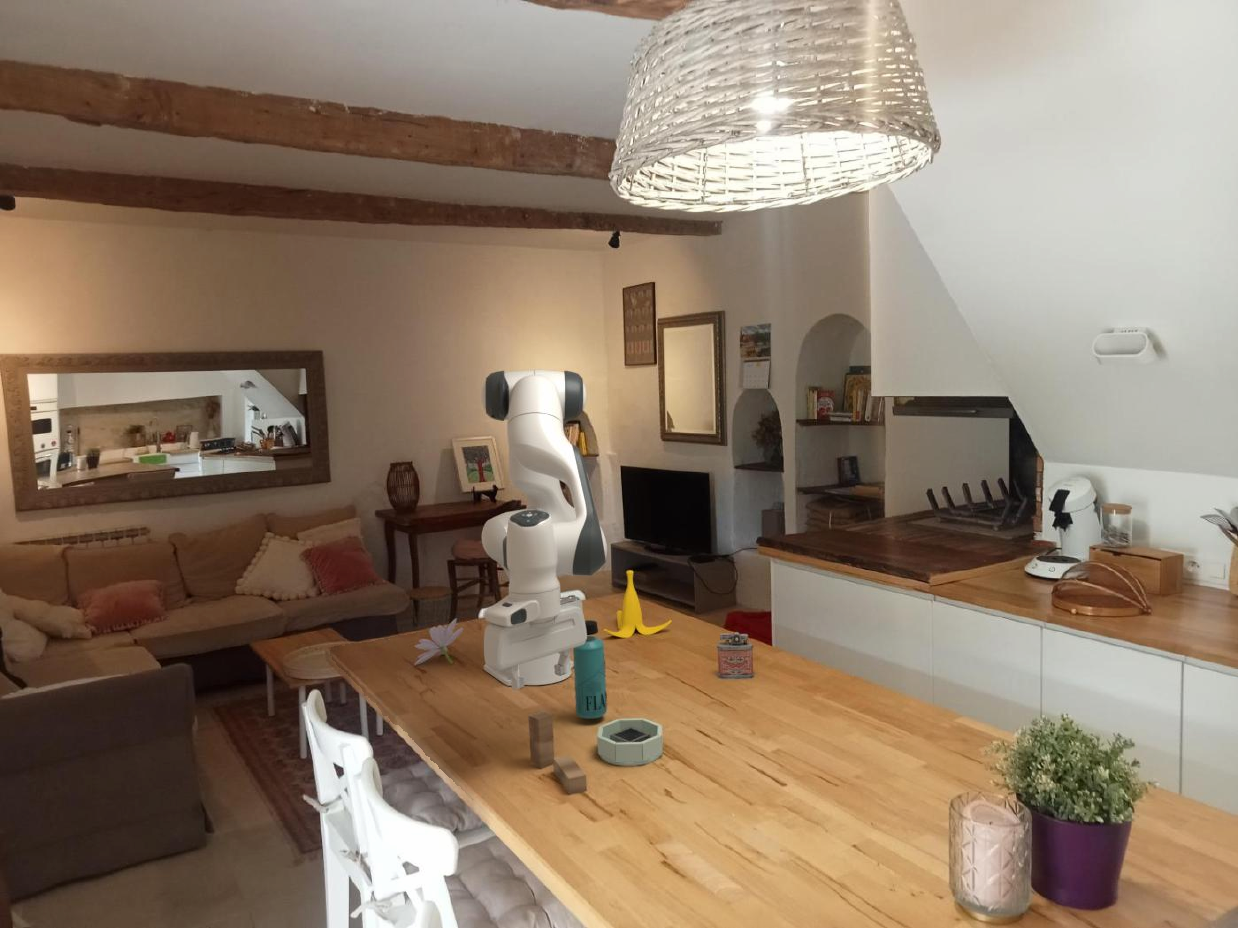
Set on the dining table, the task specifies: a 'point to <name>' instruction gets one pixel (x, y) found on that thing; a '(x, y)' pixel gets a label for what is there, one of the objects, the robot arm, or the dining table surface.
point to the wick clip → (630, 735)
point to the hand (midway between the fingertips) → (539, 681)
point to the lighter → (735, 657)
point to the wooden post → (541, 739)
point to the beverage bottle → (590, 675)
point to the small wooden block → (569, 774)
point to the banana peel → (632, 614)
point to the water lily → (438, 642)
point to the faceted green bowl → (630, 743)
